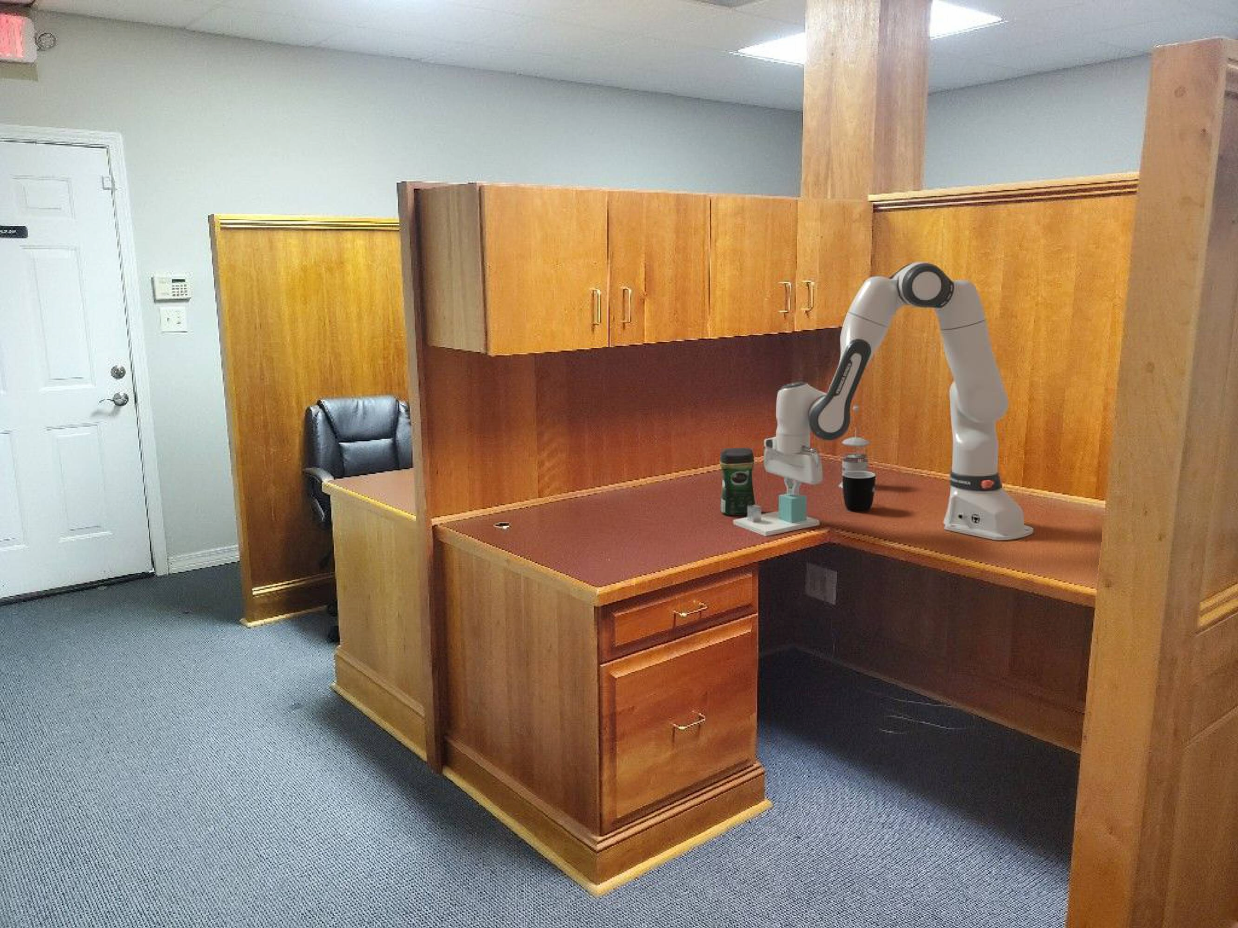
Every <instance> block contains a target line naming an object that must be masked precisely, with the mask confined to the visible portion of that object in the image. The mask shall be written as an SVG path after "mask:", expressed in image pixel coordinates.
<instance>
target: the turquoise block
mask: <svg viewBox="0 0 1238 928" xmlns="http://www.w3.org/2000/svg"><path fill="white" fill-rule="evenodd" d="M807 497H808V496H807V495H804V494H801V493H799V495H796V496H794V495H791V494H787V493H784V494H779V495H778V511H779V519H781V520H783V521H786V522H789V523H795V522H800V521H804V520H807V517H808V516H807V515H808V514H807V513H808V512H807V511H808V510H807V509H808V508H807V505H808V504H807V503H808V502H807V501H808V498H807Z"/></svg>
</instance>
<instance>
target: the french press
mask: <svg viewBox="0 0 1238 928" xmlns="http://www.w3.org/2000/svg"><path fill="white" fill-rule="evenodd" d="M852 410H853V411H855V412H857V411H860V407H859V406H858V405H854V406H853V408H852ZM854 432H855V433H854V434H855V435H854V437H848V438H846V439H844V440H843V441H842V442H841V444H843V445H844V446H847V447H854V452H852V453H851V452H849V453H845V454H844V455H843V457H844V458H843V459H842V461H841V464H842V465H841V466H842V468H841V469H842V470H841V471H842V473H841V476H842V475H843V473H845V472H849V471H867V472H869V460H868V459H867V458H868V455H867V450H866V446H868V445H870V442H869V441H868V440H867V439H865V438H862V437H858V436H857V428H855V431H854ZM863 448H864V453H862V452H861V450H863ZM857 449H858V450H859V452H857ZM838 487H839V488H840V487H841V488H840V489H843V483H842V482H841V483H840V484H839V485H838Z"/></svg>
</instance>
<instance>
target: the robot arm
mask: <svg viewBox="0 0 1238 928" xmlns="http://www.w3.org/2000/svg"><path fill="white" fill-rule="evenodd" d="M852 300H853V301H852V302H851V304H850V306H849V308H848V311H847V313H846V316H845V318H844V321H843V322H842V323H843V325H842V328H841V332H840V336H839V337H840V339H839V341H840V342H839V343H840V358H839V363H838V366H837V369H836V371H835V373H834V376H833V378H832V381H831V382H830V385H829V388H828V390H827V392H824V391H821V390H820V389H819V390H818V389H816V388H815V387H813V386H811V385H810V384H809V383H808V382H805V381H795V382H790V383H787V384H784V385H783V386H781V387H780V389H779V390H778V391H777V394H776V395H777V396H776V403H775V404H776V406H775V409H776V410H775V417H776V422H777V427H776V430H775V436H773V437H770V438H766V439H764V440H763V445H764V447H765V448H764V452H763V465H764V470H765V471H766V473H769V474H772V475H776V476H779V477H783V483H784V485H785V488H786V494H791V495H794V496H796V495H799V494H800V488H801V486H802V484H803V483H804V484H807V485H810V486H811V485H813V486H814V485H817V484H818V485H819V484H821V483H822V481H823V478H824V477H823V464H822V459H821V455H820V453H819V452H818V451H817V449H816V448H813V447H812V448H811V433H813V435H814V436H815V437H817V438H819V439H820V440H823V441H824V440H825V441H834V440H838V439H840V438H842V437H843V436H844V435H845V434H846V433H847V431H848V430H849V427H850V424H851V403H852V402H853V399H854V396H855V395H856V394H855V393H856V392H857V388H858V386H859V384H860V382H861V379H862V377H863V374H864V372H865V370H866V368H867V366H868V365H869V363H870V361H871V360H872V358H873V357H874V355H875V353H876V352H877V350H878V349H879V347H880V346H881V344H882V342H883V340H884V338H885V336H886V335H887V332H888V330H889V328H890V325H891V323H892V321H893V319H894V316H895V315H896V314H897V312H898V311H899V310H900V309H901V308H902V307H904V306H911V307H913V308H914V307H915V308H924V309H925V308H929V309H931V308H932V309H933V310H934V311H935V313H936V316H937V319H938V324H939V331H940V335H941V339H942V344H943V345H942V346H943V349H944V353H945V358H946V361H947V363H948V367H949V369H950V371H951V375H952V378H953V381H952V383H951V384H950V387H949V391H948V393H949V394H948V396H949V402H950V403H949V406H950V407H949V409H950V420H951V421H950V422H951V423H950V424H951V432H952V457H951V459H952V460H951V461H952V463H951V464H952V465H951V470H950V472H949V485H950V492H949V499H948V504H947V508H946V513H945V515H944V519H943V525H944V530H946V531H950V532H954V533H955V532H956V533H961V534H964V535H970V536H974V537H980V538H983V539H989V540H993V541H1011V540H1016V539H1021V538H1025V537H1028V536H1030V535H1032V534H1033V533H1034V528H1033V527H1032V526H1028V525H1026V524H1025V522H1024V521H1025V518H1024V512H1023V509H1022V507H1021V506H1020V505H1019V504H1018V503H1017V502H1016V501H1015V500H1014V499H1013V498H1012V497H1011V495H1009V494H1008V493H1007V492H1006V491H1005V489H1003V488H1004V487H1003V483H1007V481H1006V479H1007V478H1006V477H1003V478H1001V477H1000V473H999V472H998V465H999V463H998V462H999V461H998V460H999V438H998V434H997V427H996V422H998V421H999V420H1001V419H1002V418H1003V417H1004V416H1005V414H1007V411H1008V409H1009V406H1010V405H1009V403H1010V401H1009V396H1008V393H1007V392H1006V389H1005V386H1004V382H1003V379H1002V376H1001V372H1000V369H999V366H998V363H997V360H996V357H995V356H994V351H993V347H992V343H991V339H990V333H989V328H988V323H987V318H986V314H985V310H984V306H983V304H982V303H983V302H982V299H981V297H980V294H979V292H978V290H977V288H976V286H975V284H974V283H973V282H972V281H970V280H967V279H953V280H951V278H950V277H948V275H947V274H946V273H945V272H944V271H943V270H942V269H941V268H940V267H939V266H938V265H935V264H933V263H930V262H926V261H915V262H912V263H909V264H906V265H904V266H903V267H901V268H900V269H899V270H898V271H897V272H895V273H893V275H891V276H890V277H889V278H888V277H884V276H882V275H881V276H876V275H875V276H871V277H868V278H867V279H866V280H865V281H864V283H863V284H862V285H861V287H860V289H859V290H858V291H857V293H856V295H855V297H854V298H853V299H852Z"/></svg>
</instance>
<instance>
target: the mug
mask: <svg viewBox="0 0 1238 928" xmlns="http://www.w3.org/2000/svg"><path fill="white" fill-rule="evenodd" d="M841 479H842V480H841V483H843V488H842V495H843V496H842V497H843V501H844V506H845V508H846V510H847V511H849V512H853V513H854V512H855V513H865V512H869V511H870V510H871V508H872V505H873V503H874V496H875V489H876V488H875V487H876V474H875V473H874V472H871V471H868V472H867V471H861V470H858V471H849V472H845V473H843V475H842V474H841Z"/></svg>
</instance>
